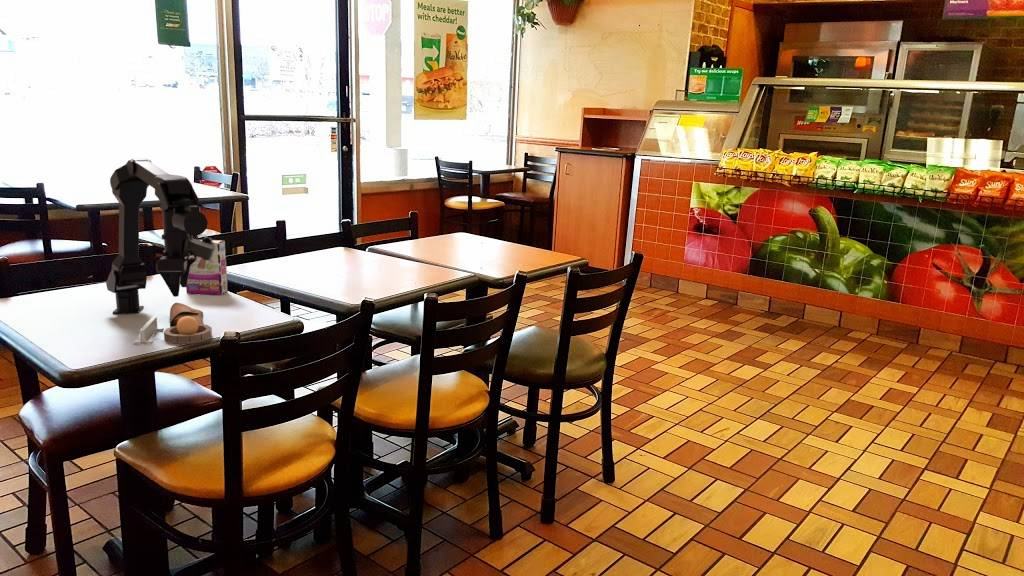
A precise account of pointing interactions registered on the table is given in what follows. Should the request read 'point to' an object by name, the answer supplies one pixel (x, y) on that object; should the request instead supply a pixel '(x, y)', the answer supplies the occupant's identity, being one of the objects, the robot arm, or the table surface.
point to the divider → (148, 331)
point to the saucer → (200, 336)
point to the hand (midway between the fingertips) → (180, 291)
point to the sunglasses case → (183, 313)
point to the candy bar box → (209, 273)
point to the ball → (187, 325)
